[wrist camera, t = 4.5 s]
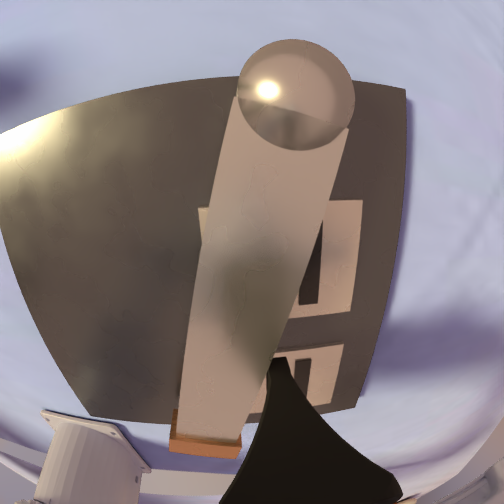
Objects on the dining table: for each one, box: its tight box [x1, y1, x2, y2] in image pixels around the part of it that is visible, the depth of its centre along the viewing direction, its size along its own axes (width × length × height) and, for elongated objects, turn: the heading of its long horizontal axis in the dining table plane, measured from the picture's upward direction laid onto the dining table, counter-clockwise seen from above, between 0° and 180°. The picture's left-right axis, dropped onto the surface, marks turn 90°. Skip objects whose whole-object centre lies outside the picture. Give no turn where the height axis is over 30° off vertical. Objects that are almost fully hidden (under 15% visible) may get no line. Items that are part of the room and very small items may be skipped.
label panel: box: [0, 76, 406, 424], centre depth 12 cm, size 18×18×2 cm
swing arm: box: [169, 39, 355, 459], centre depth 10 cm, size 18×4×2 cm, turn 167°
